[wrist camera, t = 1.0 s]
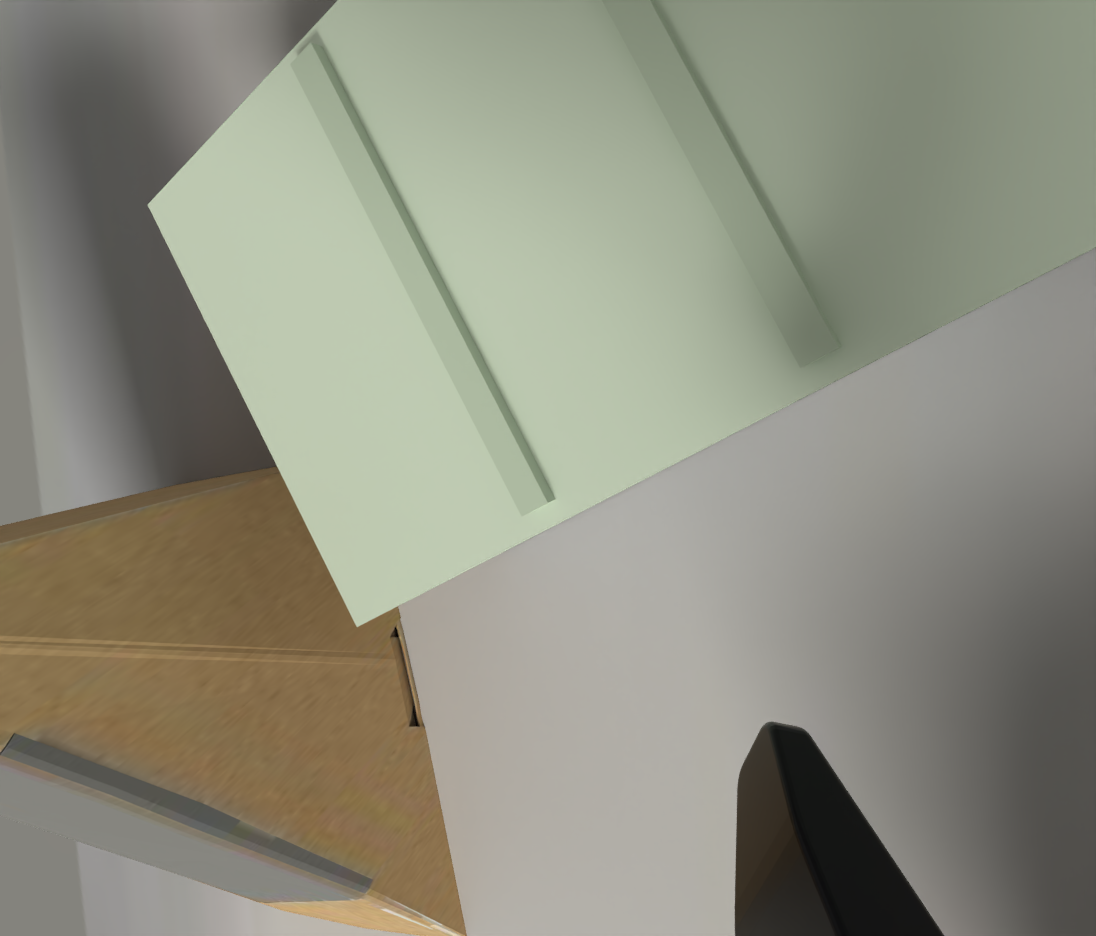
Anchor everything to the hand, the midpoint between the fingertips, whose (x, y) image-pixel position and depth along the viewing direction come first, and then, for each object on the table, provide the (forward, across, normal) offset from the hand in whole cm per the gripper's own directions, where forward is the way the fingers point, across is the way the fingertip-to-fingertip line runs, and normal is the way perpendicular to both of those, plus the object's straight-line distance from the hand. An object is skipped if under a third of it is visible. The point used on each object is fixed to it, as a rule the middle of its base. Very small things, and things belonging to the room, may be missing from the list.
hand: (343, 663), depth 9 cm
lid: (+9, -3, -4) cm, 10 cm away
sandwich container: (+12, +3, +16) cm, 20 cm away
